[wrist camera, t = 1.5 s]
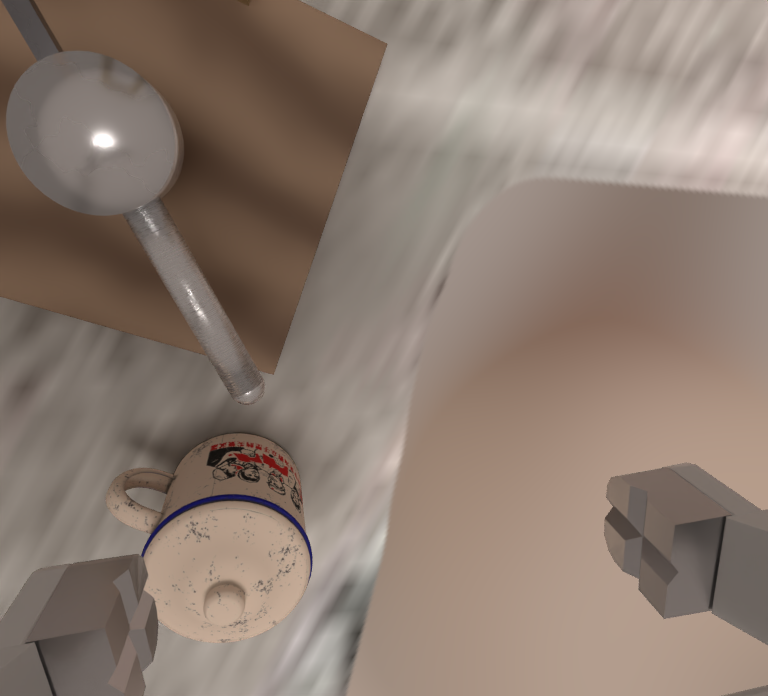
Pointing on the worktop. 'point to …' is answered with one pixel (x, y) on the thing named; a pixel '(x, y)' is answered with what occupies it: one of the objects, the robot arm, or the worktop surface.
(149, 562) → the teacup with lid
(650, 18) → the worktop surface
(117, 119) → the grey rod with dome
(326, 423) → the worktop surface
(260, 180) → the stand
